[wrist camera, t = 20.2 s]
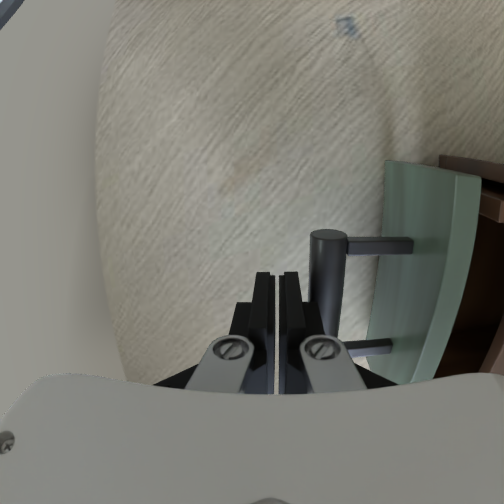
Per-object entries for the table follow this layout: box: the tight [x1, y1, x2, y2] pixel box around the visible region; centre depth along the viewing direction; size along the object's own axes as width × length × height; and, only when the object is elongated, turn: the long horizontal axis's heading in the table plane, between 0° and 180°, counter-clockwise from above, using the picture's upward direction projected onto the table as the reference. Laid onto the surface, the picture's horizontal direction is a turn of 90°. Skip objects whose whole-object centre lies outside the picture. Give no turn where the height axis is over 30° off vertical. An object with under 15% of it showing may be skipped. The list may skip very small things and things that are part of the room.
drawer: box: [308, 160, 504, 385], centre depth 11 cm, size 19×11×6 cm, turn 93°
